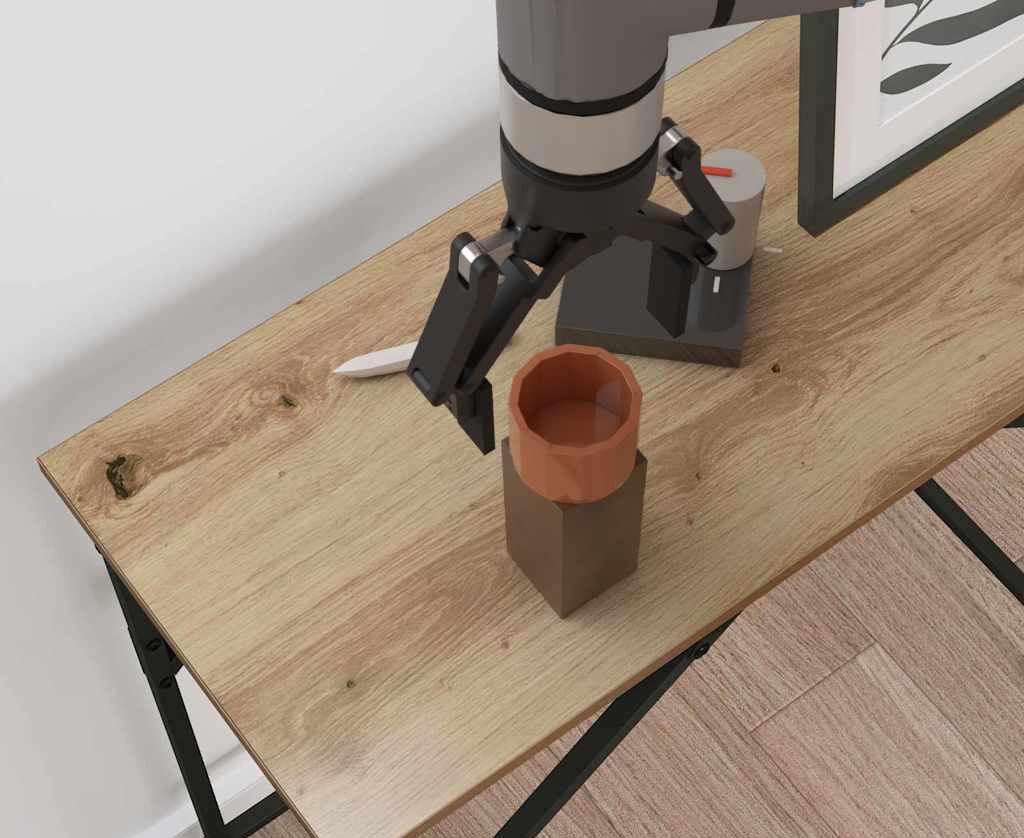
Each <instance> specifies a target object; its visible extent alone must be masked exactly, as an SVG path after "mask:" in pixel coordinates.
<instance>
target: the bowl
mask: <svg viewBox="0 0 1024 838" xmlns="http://www.w3.org/2000/svg"><path fill="white" fill-rule="evenodd" d="M643 395H644V394H643V390H642V389H641V386H640V384H639V382H638V381H637V378H636V376H635V374H634V371H633V370H632V368H631V366H630V365H629V364H628V363H626V362H624V361H623V360H621V359H620V358H618V357H617V356H615V355H614V354H612V353H611V352H607V351H606V350H604V349H603V348H598V347H590V346H583V345H575V344H565V345H562V346H555V347H552V348H549V349H546V350H544V351H540V352H537V353H535V354H533V356H531V358H530V359H529V360H528V361H527V362H526V363H525V364H524V365H522V366H521V368H520V369H519V370H518V371H517V372H516V373H515V374H514V375H513V377H512V381H511V386H510V391H509V396H508V401H507V421H508V422H507V423H508V436H509V447H510V453H511V455H512V459H513V463H514V466H515V469H516V471H517V473H518V474H519V476H520V477H521V479H522V480H523V481H524V482H525V484H526V485H527V486H528V487H530V488H531V489H532V490H533V491H535V492H536V493H538V494H539V495H541V496H543V497H545V498H547V499H550V500H553V501H556V502H561V503H568V504H582V503H588V502H592V501H596V500H599V499H601V498H604V497H606V496H608V495H610V494H611V493H613V492H614V491H616V490H617V489H618V488H619V487H620V486H621V485H622V484H623V483H624V482H625V481H626V480H627V478H628V477H629V475H630V474H631V472H632V470H633V468H634V466H635V461H636V455H637V448H638V449H639V446H638V445H639V440H640V429H641V418H642V408H643V397H644V396H643Z"/></svg>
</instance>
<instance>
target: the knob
mask: <svg viewBox="0 0 1024 838" xmlns="http://www.w3.org/2000/svg"><path fill="white" fill-rule="evenodd" d="M701 170H702V172H703V173H704V175H705V176H706V178H707V179H708V180H709V182H710V183H711V185H712V186H713V188H714V189H715V191H716V192H717V194H718V195H719V197H720V198H721V199H722V201H723V202H724V204H725V205H726V207H727V208H728V210H729V211H730V213H731V214H732V216H733V217H734V218H735V221H736V222H735V225H734V227H733V229H732V230H730V231H729V232H728V233H727V234H725V235H722V236H720V235H719V234H718V233H717V232H716V233H715V234H714V235H712V236H711V237H710V238H709V239H708V240H707V241H708V242H709V243H710V244H711V245H712V246H713V247H714V248H715V249H716V250H717V251H718V255H717V257H716V259H715V260H714V261H713V262H712V263H711V264H710V265H708V266H707V267H709V268H712V269H716V270H731V269H735V268H738V267H740V266H742V265H743V264H745V263H746V262H747V261H748V260H749V259H750V258H751V256H752V255H753V252H754V253H755V249H756V243H757V237H758V232H759V231H758V230H759V226H760V220H761V214H762V208H763V203H764V196H765V191H766V185H767V179H768V178H767V177H768V176H767V170H766V168H765V166H764V164H763V162H762V161H761V160H760V158H758V157H757V156H755V155H754V154H752V153H750V152H748V151H746V150H743V149H737V148H723V149H719V150H716V151H713V152H711V153H710V154H708V155H707V156H705V157H704V158H703V160H701Z"/></svg>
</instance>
